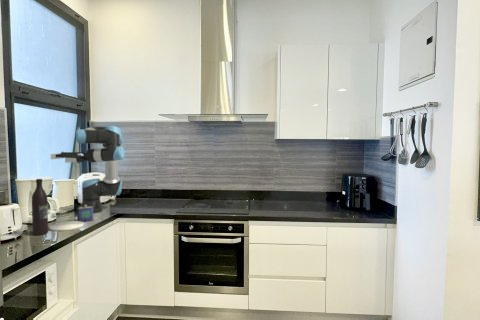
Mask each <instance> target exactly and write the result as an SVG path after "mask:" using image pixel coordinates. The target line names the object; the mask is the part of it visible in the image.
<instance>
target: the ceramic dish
mask: <svg viewBox="0 0 480 320" xmlns="http://www.w3.org/2000/svg"><path fill="white" fill-rule="evenodd" d="M84 226H85V222H81V221H78V220H66V221H60V222H56V223H52V224H51V225H48V230H50V231H54V232H66V231H74V230H77V229H82V228H83V227H84Z"/></svg>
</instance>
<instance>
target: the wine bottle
mask: <svg viewBox="0 0 480 320" xmlns="http://www.w3.org/2000/svg"><path fill="white" fill-rule="evenodd" d="M35 183H36V184H35V185H36V186H35V190H34V192H33V193H32V196H31V218H32V220H31V221H32V223H31V224H32V235H33V236H42V235H46V234H48V233H49V224H48V223H49V221H48V220H49V217H48V216H49V214H48V211H49V209H48V195H47V193H46V191H45V189H44V188H43V179H42V178H36V180H35Z"/></svg>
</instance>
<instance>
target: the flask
mask: <svg viewBox="0 0 480 320" xmlns="http://www.w3.org/2000/svg"><path fill="white" fill-rule="evenodd" d="M76 210H77V212H76V213H77V221H81V222H84V223H87V222H92V221H94V213H93V207H92V206H90V207H87V205H85V206H84V207H83V208H81V206H80V207H77V209H76Z"/></svg>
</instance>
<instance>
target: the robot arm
mask: <svg viewBox="0 0 480 320" xmlns="http://www.w3.org/2000/svg"><path fill="white" fill-rule="evenodd" d="M75 141H76V143H77V144H97V145H98V144H101V145H102V147H100V148H91V149H90V148H89V149H87V150H86V152H82V151H78V152H77V151H74V152H73V151H72V152H71V151H68V152H67V151H66V152H65V151H61V152H59V153H50V160H59V159H64V163H65V164H67V163H77V164H80V163H83V162H84V163H85V162H88V163H89V164H91V163H102V162H104V177H103V178H102V180H101V179H100V178H92V179H91V178H90V179H86V180H83V182H81V183H82V184H81V194H82V196H81V200H82V201H81V204H80V207H81V208H83V207H84V206H85V205H87V207H90V206H92V207H93V214H95V213H100V212H103V210H104V207H103V204H102V201H101V197H115V196H120V195H121V193H122V188H123V180H122V179H121V178H120V176H119V161H120V160H121V161H122V160H123V159H124V158H125V157H126V156H125V155H126V154H125V153H126V152H125V148H124V147H122V144H124V143H123V135H122V129H121V128H120V127H118V126H114V125H110V126H109V125H108V126H99V125H97V126H91V127H86V128H84V129H76V132H75Z"/></svg>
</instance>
